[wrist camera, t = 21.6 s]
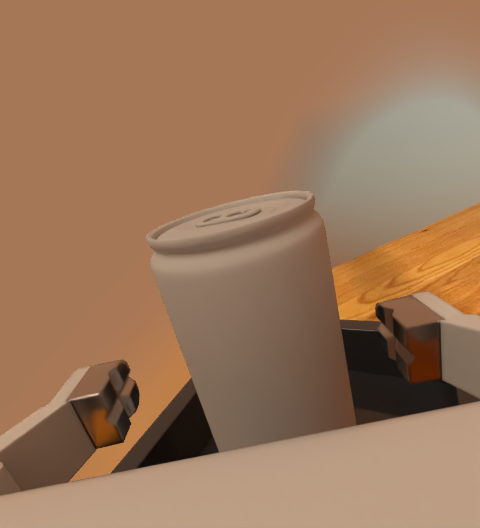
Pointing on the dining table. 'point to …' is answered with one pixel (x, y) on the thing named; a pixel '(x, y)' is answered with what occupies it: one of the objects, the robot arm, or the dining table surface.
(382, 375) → the dark shallow tray
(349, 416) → the beverage can
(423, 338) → the robot arm
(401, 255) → the dining table surface
